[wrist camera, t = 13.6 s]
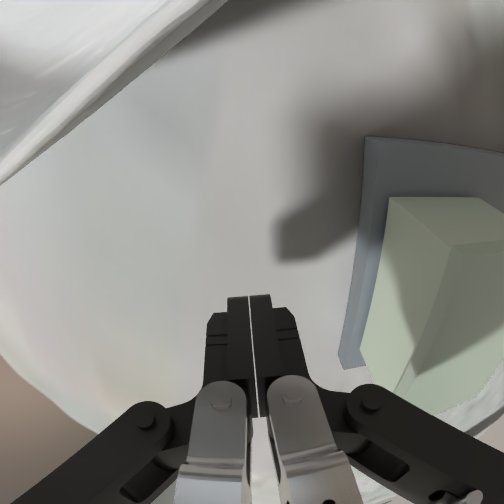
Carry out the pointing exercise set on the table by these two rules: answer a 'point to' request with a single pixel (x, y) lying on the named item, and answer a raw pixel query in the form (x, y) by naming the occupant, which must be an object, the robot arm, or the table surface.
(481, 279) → the block
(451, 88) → the table surface
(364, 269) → the board
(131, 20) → the serving bowl
